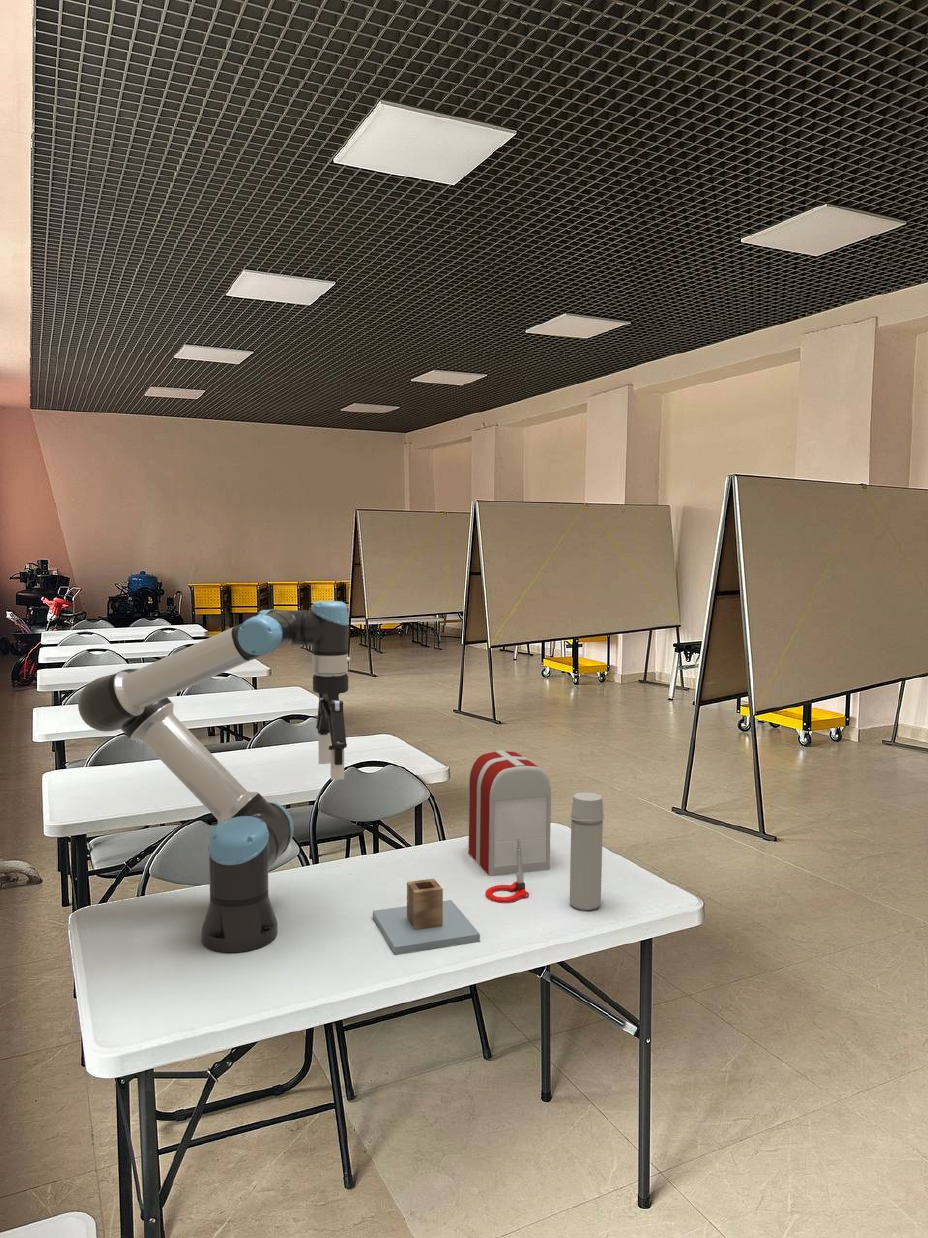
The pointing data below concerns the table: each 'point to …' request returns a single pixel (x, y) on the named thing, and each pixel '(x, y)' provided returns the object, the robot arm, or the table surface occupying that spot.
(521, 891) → the tow hook
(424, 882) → the block
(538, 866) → the striped mailbox
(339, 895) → the table surface
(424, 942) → the pin plate
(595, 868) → the water bottle
